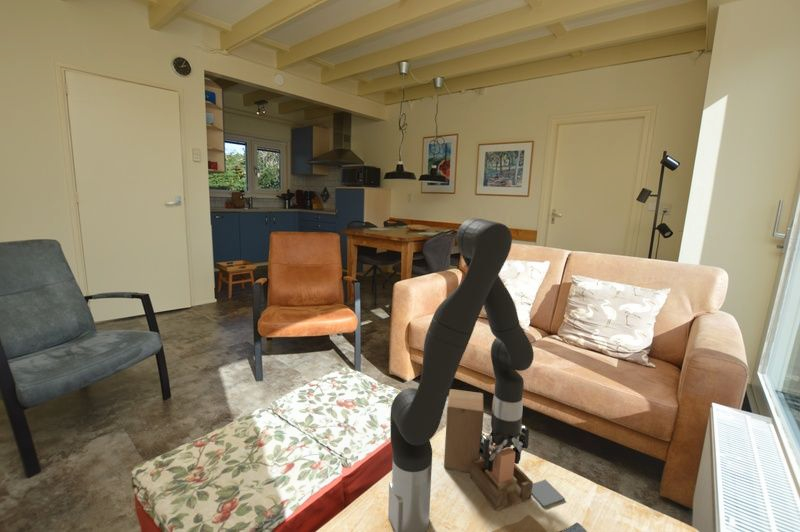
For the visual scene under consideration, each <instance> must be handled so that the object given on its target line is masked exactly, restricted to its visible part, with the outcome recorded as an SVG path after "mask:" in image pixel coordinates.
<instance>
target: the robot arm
mask: <svg viewBox="0 0 800 532" xmlns="http://www.w3.org/2000/svg"><path fill="white" fill-rule="evenodd" d="M455 241H456V245H457V249H458V251H459V253H460V255H461V257H462V259H463V261H464V263H465V265H466V267H467V270H466V272H465V275H464V277H463V279H462V280H461V282H460V284H459V285H458V286H457V287H456V288H455V289H454V290H453V291H452V292H451V293H450V294H449V295H447V297H446V298H445V299H444V300H443V301H442V302H441V303H440V304H439V305H438V306H437V308H436V310H435V311H434V313H433V316H432V318H431V321H430V323H429V326H428V329H427V331H426V334H425V338H424V343H423V351H422V363H421V364H422V365H421V376H420V381H419V384H418V387H417V388H414V387H408V388H405V389H403V390H401V391H400V392H399V393H397V394H396V396H395V397H394V399H393V400H392V403H391V408H390V414H389V415H390V421H389V422H390V425H389V426H390V428H389V429H390V444H391V445H390V446H391V450H392V469H391V470H392V471H391V474H392V476H391V477H392V478H391V482H389V483H388V508H387V509H388V510H387V511H388V513H387V515H388V516H387V517H388V519H389V521H390V524H391V526H392V529H393V531H394V532H426V531H427V530H428V527H429V524H430V510H431V508H430V507H431V491H432V490H431V488H432V486H431V485H432V470H433V469H432V468H433V448H432V444H431V441H430V440H431V439H432V438H433V437H434V435H435V434H436V433H437V431H438V429H439V426H440V424H441V420H442V417H443V413H444V411H445V406H446V404H447V401H448V397H449V392H450V389H451V387H452V385H453V382H454V379H455V376H456V374H457V372H458V369H459V365H460V363H461V361H462V358H463V356H464V354H465V352H466V350H467V347H468V345H469V343H470V340H471V338H472V335H473V333H474V329H475V326H476V323H477V321H478V319H479V317H480V314H481V312H482V310H483V308H484V311H485V314H486V319H487V321H488V325H489V328H490V331H491V334H493V336H494V337H495V338H494V340H493V341H492V343H491V347H490V359H491V364H492V370H493V371H492V372H493V374H494V379H495V380H494V393H493V398H492V404H491V406H492V407H491V417H490V418H491V419H490V426H491V432H490V434H487V435H486V434H485V433H482V434H481V436H480V444H479V452H478V453H479V455H480V458H481V459H484V460H485V464H484V466H485V468H486V469H487V470H488V471H489V472H492V471H493V458H494V457H495V455H496V454H499V452H500V451H501V449H504V448H506V447H511V448H512V449H513V450H514V451H515V452H516V453H515V465H519V464H520V461H521V456H522V455H521V454H522V452H523V450H524V449H528V448H529V438H530V436H529V434H530V429H529V428H528V427H527V426H526V425H525V424H523V423H522V419H523V406H524V405H523V399H524V398H523V396H524V386H525V385H524V383H525V381H524V378H523V376H522V375H521V374H520V373H518V371H520V372H523V371H526V370H527V369H529V368H530V367H531V366H532V363H533V361H534V357H535V356H534V353H535V351H534V348H533V345H532V343H531V341H530V339H529V337H528V335H527V334H526V332H525V330H524V329H523V328H522V326H521V323H520V320H519V316H518V312H517V307H516V305H515V302H514V300H513V297H512V295H511V294H510V293H511V292H510V291H509V290H508V288H507V287H506V285H505V284H504V282H503V281H502V279H501V276H500V275H499V274H500V272H501V270H502V269H503V266H504V265H505V263H506V261H507V259H508V257H509V255H510V252H511V249H512V243H513V237H512V232H511V230H510V228H509V227H508V226H507V225H506V224H505V223H501V222H496V221H492V220H488V219H487V220H486V219H482V218H474V217H473V218H468V219H467V220H464V222H462V223H461V225H460V226H459V228H458V230H457V232H456V240H455ZM517 439H518V440H517ZM493 445H496V446H497V448H495V447H494V446H493ZM512 446H513V447H512ZM491 450H492V453H491V454H490V452H491Z"/></svg>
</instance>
